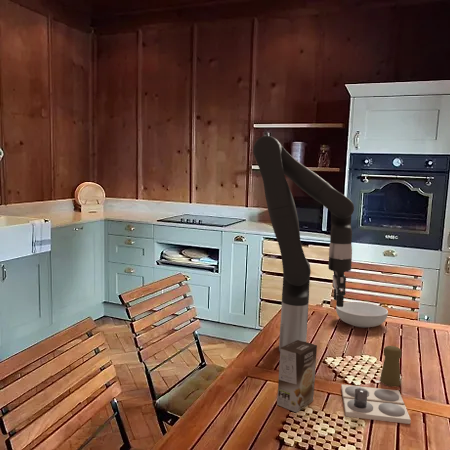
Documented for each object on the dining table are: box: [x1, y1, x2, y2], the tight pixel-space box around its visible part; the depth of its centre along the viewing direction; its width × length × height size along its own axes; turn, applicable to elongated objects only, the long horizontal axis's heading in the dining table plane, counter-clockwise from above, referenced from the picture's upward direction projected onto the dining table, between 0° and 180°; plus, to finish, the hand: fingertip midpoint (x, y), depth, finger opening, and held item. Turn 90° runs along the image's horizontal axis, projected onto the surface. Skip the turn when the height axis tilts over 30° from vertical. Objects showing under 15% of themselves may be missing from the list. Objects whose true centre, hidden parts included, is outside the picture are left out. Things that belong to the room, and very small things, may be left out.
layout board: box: [340, 383, 412, 425], centre depth 129 cm, size 16×16×1 cm
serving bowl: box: [335, 301, 389, 329], centre depth 197 cm, size 21×21×7 cm
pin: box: [354, 388, 368, 409], centre depth 126 cm, size 3×3×4 cm
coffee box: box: [276, 340, 318, 413], centre depth 128 cm, size 9×6×16 cm
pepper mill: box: [379, 345, 403, 388], centre depth 143 cm, size 6×6×11 cm
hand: (338, 303), depth 161 cm, fingers open, 8 cm apart
